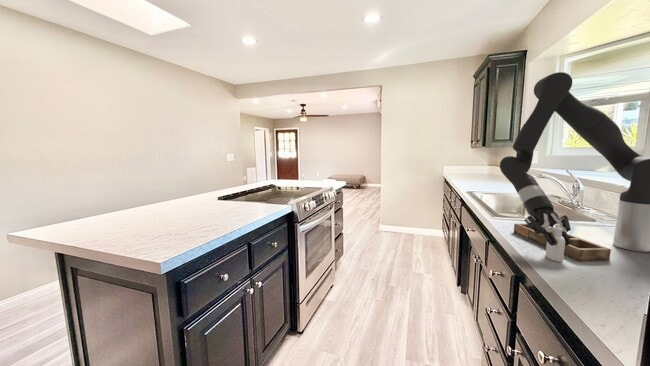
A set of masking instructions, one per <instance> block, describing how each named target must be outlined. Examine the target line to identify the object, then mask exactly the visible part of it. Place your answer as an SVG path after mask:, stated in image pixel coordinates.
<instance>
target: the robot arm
mask: <svg viewBox="0 0 650 366" xmlns="http://www.w3.org/2000/svg"><path fill="white" fill-rule="evenodd" d="M572 85H573V78H572V77H571V74H569V73H567V72H566V71H565V72H563V71H557V72H553V73H551V74H548V75H547V76H545V77H542V78H541V79H539V80H538V81H537V82H536V83H535V84H534V87H533V94H534V95H535V98H537V102H536V105H535V107H534V109H533V111H532V112H531V114H530V116H529V117H528V118H527V120H526V121H525V122H524V124H523V125H522V126H521V129H520V131H519V132H518V134H517V136H516V139H515V141H514V143H513V146H512V149H513V150H514V151H515V152H516V155H515V156H513V155H512V156H511V155H509V156H505V157H503V158H502V159H501V160H500V162H499V170H500V171H501V173H502V174H503V176H504V177H505V178H506V179H507V180H508V181H509V183H511V184H512V185H513V187H514V189H515V191H516V194H517V195H518V196H519V197H518V198H519V200H520V201H521V203H522V205H523V207H524V208H525V210H526V212H527V214H528V216H527V217H526V218H524V223H525V224H528V225H529V226H530V227H531V228H532V229H533V230H534V231H535V232H536V233H537V234H539V233H540V234H542V235H544V237H545V238H546V240H547V242H548V243H549V244H550V245H551V246H554V245H556V244H557V241H556V239H555V238H554V236H553V234H552V233H550V229H549V227H550V228H551V229H552V228H553V227H556V224H559V226H560V228H561V229H562V235H561V236H563V238H564V239H565V245H569V244H571V239H570V238H569V236H568V235H567V234H568V233H569V232H570V231H571V230H572V228H571V225H570V221H569V220H570V219H569V217H568V216H567V215H558V214H557V212H555V211H554V209H555V208H554V207H555V206H554V205H553V204H552V203H553V202H551V200H550V199H549V197H548V195H547V194H546V193H545V191H544V190H543V188H541V186H540V185H539V183H538V182H537V180H536V179H535V178H534V176H533V175H532V174H530V173H528V172H529V171H530V169H531V166H532V162H533V157H534V151H535V149H536V146H537V145H538V142H539V141H540V139H541V137H542V134H543V133H544V130H545V128H546V127H547V125H548V123H549V121H550V120H551V118H552V116H553V115H554V113H556V114H557V115H559V116H560V118H562V120H563V121H564V122H565V123H566V124H567V125H568V126H569V127H571V128H572V129H573V130H574V132H575V133H576V134H578V135H579V136H580V138H582V140H584V141H585V142H586V143H588V144H589V146H590V147H592V148H593V149H594V150H596V151H597V152H598V153H599V154H600V155H602V157H604V158H605V160H607V162H608V163H609V165H611V166H612V168H613V169H614V170H615V171H616V173H617V174H618V175H619V176H620V177H621V178H622V179H625V180H626V181H628V182H630V184H629V187H628V189H627V190H625V191H622V192H621V193H620V195H619V201H618V206H617V207H618V209H617V213H616V214H617V215H616V222H615V228H614V235H613V241H612V244H613V245H614V246H615V247H617V248H620V249H624V250H629V251H634V252H639V253H650V157H649V156H642V155H641V154H639V153H637V152H636V151H635V150H634V149H633V148H631V147H630V145H628V144H627V143H626V141H625V139H624V137H623V134H622V131H621V129H620V127H619V126H618V125H617V123H616V122H615V121H614V120H612V118H610V117H609V116H608V115H607V114H606V113H604V111H601V110H600V109H598V108H597V107H594V106H592V105H591V104H587V103H585V102H583V101H582V100H580V99H578V98H576V97H575V96H574V95H573V94H572V93H571V92H570V91H571V89H572ZM535 226H536V227H537V228H538V229H537V228H536V227H535Z"/></svg>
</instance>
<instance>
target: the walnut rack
mask: <svg viewBox="0 0 650 366" xmlns="http://www.w3.org/2000/svg"><path fill="white" fill-rule="evenodd" d="M535 227H536V226H535ZM536 228H537V227H536ZM537 229H538V228H537ZM549 229H550V233H552V229H551V228H550V226H549ZM513 233H514V234H517V235H519V236H521V237H522V236H523V237H522V238H525V239H526V240H529V241H532V242H534V243H536V244H538V245H540V246H542V247H545V248H546V246H547V240H546V238H545V237H544V235H542V234H540V233H539V234H537V233H536V232H535V231H534V230H533V229H532V228H531V227H530V226H529V225H528V224H527V223H513ZM567 235H568V236H569V238H570V239H571V244H569V245H565V249H564V257H567V258H569V259H571V260H573V261H577V262H610V259H611V251H612V249H611V248H608V247H605V246H604V245H600V244H597V243H595V242H592V241H589V240H587V239H583V238H581V237H577V236H575V235H572V234H569V233H567Z"/></svg>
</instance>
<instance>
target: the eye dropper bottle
mask: <svg viewBox="0 0 650 366" xmlns="http://www.w3.org/2000/svg"><path fill="white" fill-rule="evenodd" d="M555 226H556V227H553V228H552V234H553V236H554V238H555V239H556V241H557V244H556V245H554V246H551V245H550V244H549V243H548V242H547V246H546V247H545V257H546V258H548V259H549V260H551V261H553V262H559V263H563V261H564V257H565V255H564V249H565V239H564V238H563V236H561V235H562V229H561V228H560V226H559V224H555Z"/></svg>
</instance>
